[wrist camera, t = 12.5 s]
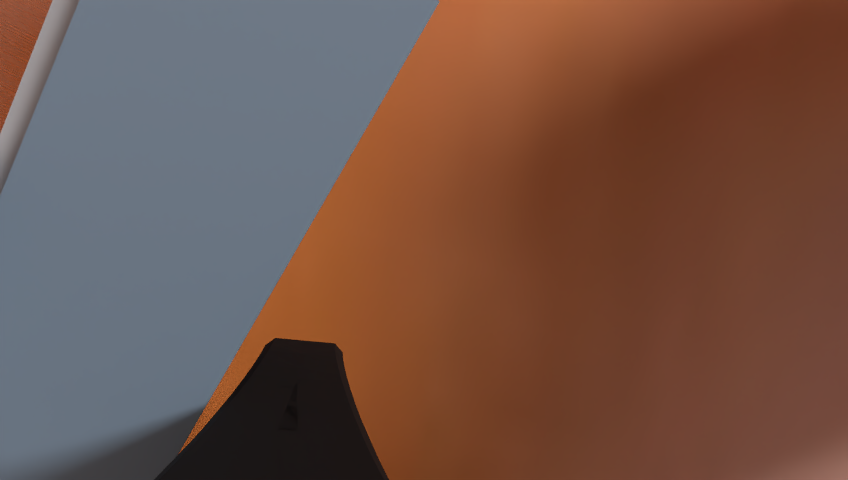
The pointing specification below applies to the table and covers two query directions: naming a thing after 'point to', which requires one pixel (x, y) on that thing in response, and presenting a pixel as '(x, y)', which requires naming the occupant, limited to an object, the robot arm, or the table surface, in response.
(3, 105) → the block
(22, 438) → the sliding jaw
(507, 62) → the table surface
